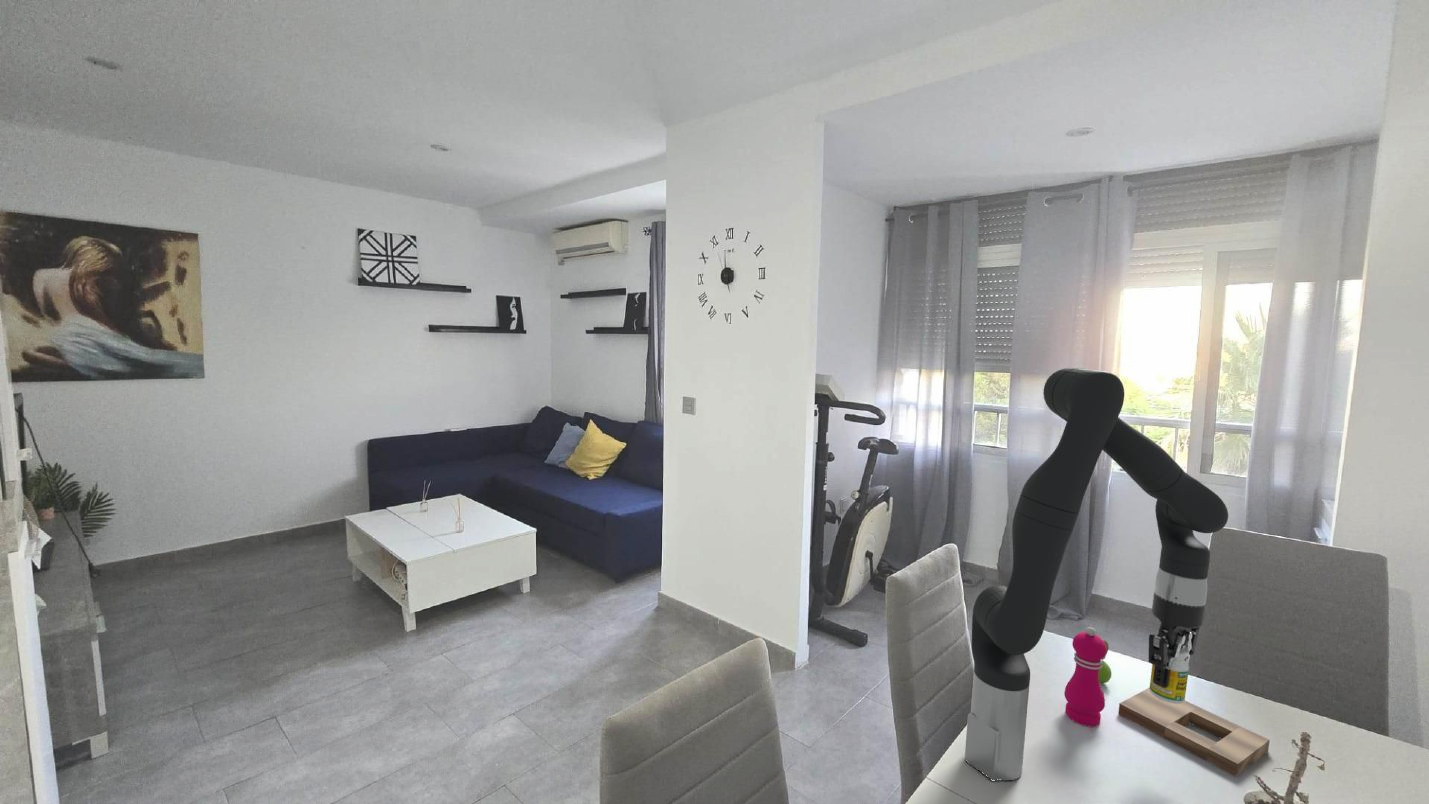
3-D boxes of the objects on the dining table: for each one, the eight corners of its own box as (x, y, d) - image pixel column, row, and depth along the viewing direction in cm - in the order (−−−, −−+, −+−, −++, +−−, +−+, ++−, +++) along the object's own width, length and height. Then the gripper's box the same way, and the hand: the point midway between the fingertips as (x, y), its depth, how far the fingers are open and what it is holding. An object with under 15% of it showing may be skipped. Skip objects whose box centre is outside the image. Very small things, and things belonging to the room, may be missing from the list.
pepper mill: (1091, 708, 127) (1099, 620, 124) (1110, 730, 119) (1119, 637, 117) (1056, 705, 127) (1064, 618, 125) (1073, 727, 120) (1081, 635, 118)
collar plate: (1236, 776, 107) (1238, 764, 107) (1118, 714, 125) (1119, 703, 124) (1268, 751, 114) (1269, 739, 114) (1151, 696, 131) (1153, 685, 131)
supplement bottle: (1155, 684, 114) (1161, 637, 113) (1189, 699, 110) (1195, 650, 109) (1144, 692, 111) (1150, 645, 110) (1178, 708, 107) (1184, 658, 106)
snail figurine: (1074, 679, 137) (1079, 630, 136) (1092, 673, 140) (1096, 625, 139) (1098, 692, 133) (1103, 641, 131) (1115, 685, 135) (1120, 636, 134)
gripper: (1184, 611, 101) (1172, 702, 103) (1222, 596, 108) (1210, 682, 110) (1136, 594, 108) (1126, 680, 110) (1174, 581, 115) (1164, 662, 117)
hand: (1168, 680), depth 110 cm, fingers closed on supplement bottle, 5 cm apart
